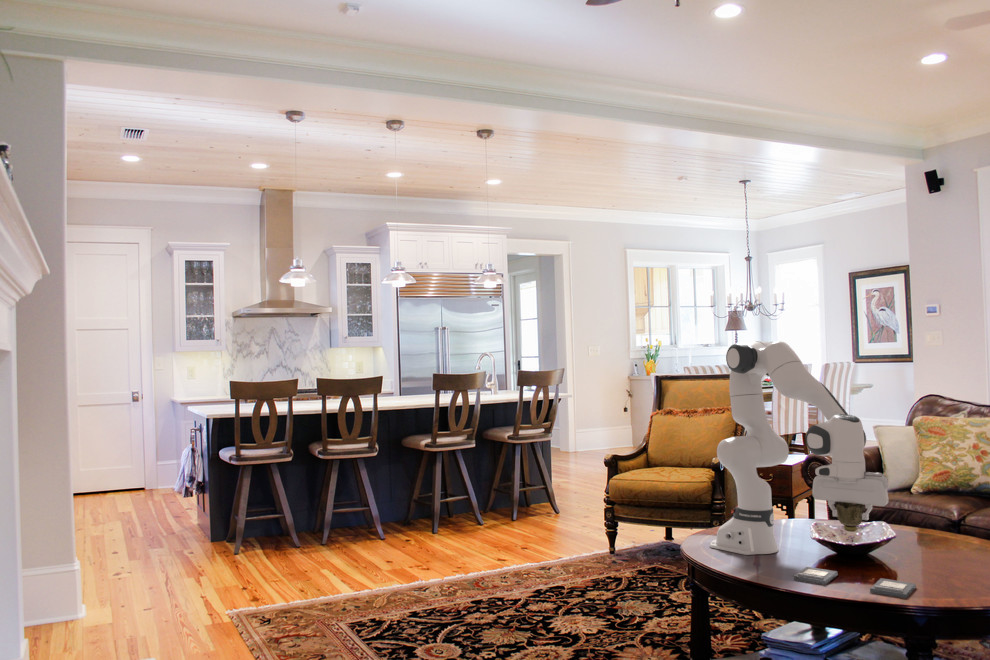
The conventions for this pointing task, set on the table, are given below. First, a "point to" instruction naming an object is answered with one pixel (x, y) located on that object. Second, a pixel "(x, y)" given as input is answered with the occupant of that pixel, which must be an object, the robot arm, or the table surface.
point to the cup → (849, 515)
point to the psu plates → (879, 587)
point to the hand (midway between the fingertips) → (850, 518)
